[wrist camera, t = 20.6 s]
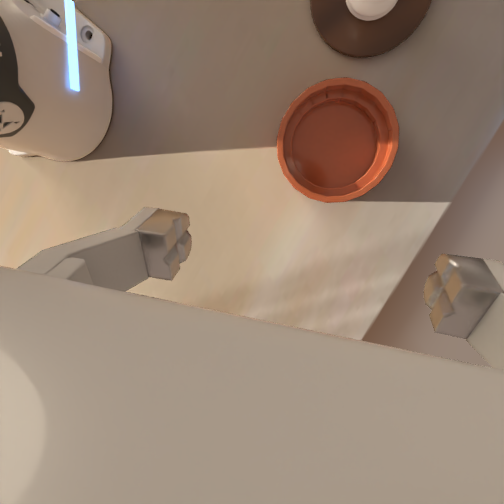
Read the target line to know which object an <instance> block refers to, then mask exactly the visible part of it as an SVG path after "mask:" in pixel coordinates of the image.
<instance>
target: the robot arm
mask: <svg viewBox="0 0 504 504" xmlns="http://www.w3.org/2000/svg"><path fill="white" fill-rule="evenodd" d="M91 34H92V38H91V39H90V36H91ZM110 58H111V41H110V38H109V37H108V36H107V35H106V34H105V33H104V32H103V31H102V30H101V29H100V28H98V27H97V26H96V25H95V24H94V23H93V22H91V21H90V20H89V19H88V18H87V17H86V16H85V15H83V14H82V13H81V12H80V11H79V10H78V9H76V8H75V7H74V2H73V1H72V0H0V148H4V149H7V150H8V151H9V152H10V153H11V154H13V155H16V156H21V157H29V156H35V155H39V156H42V157H46V158H49V159H52V160H55V161H65V162H67V161H74V160H78V159H80V158H83V157H85V156H86V155H88V154H89V153H91V152H92V151H93V150H94V149H95V148H96V147H97V146H98V145H99V144H100V142H101V141H102V139H103V138H104V136H105V134H106V132H107V129H108V127H109V124H110V120H111V115H112V90H111V84H110V78H109V64H110ZM189 226H190V221H189V216H188V215H187V214H186V213H181V212H175V211H169V210H164V209H159V208H152V207H144V208H143V209H142V210H140V211H139V212H138V213H137V214H136V215H135V216H134V217H132V218H131V219H130V220H129V221H128V222H127V223H125V224H124V225H123V226H122V227H121V228H113V229H110V230H107V231H103V232H100V233H97V234H94V235H90V236H87V237H84V238H80V239H77V240H74V241H71V242H67V243H64V244H61V245H58V246H54V247H51V248H48V249H44V250H42V251H40V252H39V253H38V254H36V255H35V256H34V257H32V258H31V259H29V260H28V261H27V262H25V263H24V264H22V265H21V266H20V267H18V268H17V269H14V268H9V267H4V266H0V504H504V264H503V263H502V262H500V261H498V260H489V259H481V258H473V257H465V256H457V255H449V254H441V255H440V256H439V257H438V259H437V261H436V263H435V267H436V269H437V271H436V272H434V273H432V274H431V275H429V276H428V278H427V281H426V283H425V286H424V292H423V293H424V300H425V304H426V305H427V306H428V307H429V308H430V309H431V310H432V311H431V313H430V314H429V316H430V319H431V322H432V325H433V328H434V331H435V332H437V333H441V334H446V335H450V336H455V337H459V338H464V339H466V341H467V342H468V343H469V344H470V345H471V346H472V347H473V348H474V349H475V350H476V351H477V353H478V354H479V355H480V356H481V357H482V358H483V359H484V360H485V361H486V362H487V363H488V364H489V365H490V366H491V367H492V368H490V367H485V366H480V365H476V364H471V363H466V362H461V361H456V360H451V359H447V358H442V357H437V356H432V355H428V354H422V353H418V352H413V351H408V350H404V349H399V348H393V347H389V346H384V345H379V344H375V343H370V342H365V341H360V340H355V339H351V338H346V337H341V336H336V335H331V334H326V333H322V332H317V331H312V330H307V329H302V328H298V327H293V326H288V325H283V324H278V323H274V322H269V321H264V320H259V319H254V318H250V317H245V316H240V315H235V314H230V313H225V312H221V311H216V310H211V309H206V308H201V307H197V306H192V305H187V304H182V303H177V302H173V301H168V300H163V299H158V298H153V297H149V296H144V295H139V294H134V293H129V292H125V291H127V290H129V289H130V288H132V287H134V286H136V285H137V284H139V283H141V282H142V281H144V280H146V279H148V277H153V278H159V279H165V280H171V281H172V280H173V278H174V277H175V275H176V274H177V272H178V271H179V269H180V263H182V262H184V261H186V259H187V258H188V256H189V253H190V250H191V244H192V240H191V235H190V234H189V232H188V231H187V228H188V227H189Z"/></svg>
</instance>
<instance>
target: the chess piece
mask: <svg viewBox="0 0 504 504" xmlns="http://www.w3.org/2000/svg"><path fill="white" fill-rule="evenodd" d="M397 1H398V0H346V4H347V7H348V9H349V11H350V12H351V13H352V14H353V15H354V16H355V17H357V18H358V19H361V20H365V21H372V20H376V19H379V18H381V17H383V16H384V15H386V14H387V13H388V12H389V11H390V10H391V9H392V8H393V7H394V6H395V4H396V3H397Z"/></svg>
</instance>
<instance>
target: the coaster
mask: <svg viewBox="0 0 504 504" xmlns="http://www.w3.org/2000/svg"><path fill="white" fill-rule="evenodd" d="M431 1H432V0H398V1H397V3H396V4H395V6H394V7H393V8H392V9H391V10H390V11H389V12H388V13H387V14H386V15H384V16H383V17H381V18H379V19H376V20H372V21H365V20H361V19H358V18H357V17H355V16H354V15H353V14H352V13H351V12H350V11H349V9H348V7H347V4H346V0H311V12H312V17H313V20H314V24H315V26H316V28H317V31H318V32H319V34H320V35H321V37H322V38H323V40H324V41H325V42H326V43H327V44H328V45H329V46H330V47H332V48H333V49H335V50H336V51H338V52H340V53H342V54H344V55H348V56H352V57H371V56H376V55H379V54H383V53H385V52H387V51H389V50H391V49H393V48H395V47H396V46H398V45H399V44H401V43H402V42H403V41H404V40H406V39H407V38H408V37H409V36H410V35H411V34H412V33H413V31H414V30H415V29H416V28H417V27H418V25H419V24H420V22H421V21H422V19H423V18H424V16H425V14H426V12H427V10H428V8H429V6H430V3H431Z"/></svg>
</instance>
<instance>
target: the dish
mask: <svg viewBox="0 0 504 504" xmlns="http://www.w3.org/2000/svg"><path fill="white" fill-rule="evenodd" d="M398 142H399V125H398V122H397V118H396V115H395V111H394V109H393V107H392V106H391V104H390V103H389V101H388V100H387V99H386V97H385V96H384V95H383V93H382V92H381V91H379V90H377V89H376V88H374V87H373V86H371V85H370V84H368V83H367V82H365V81H360V80H356V79H351V78H347V77H346V78H345V77H344V78H336V79H328V80H324V81H322V82H320V83H318V84H316V85H313V86H311V87H309V88H308V89H306V90H305V91H304V92H303V93H302V94H301V95H300V96H298V97H297V98H296V99H295V100H294V101H293V103H291V105H290V107H289V108H288V110H287V112H286V113H285V115H284V117H283V118H282V120H281V124H280V128H279V132H278V136H277V156H278V160H279V163H280V166H281V168H282V171H283V174H284V175H285V177H286V178H287V179H288V181H289V182H290V183H291V184H292V186H293V187H294V188H295V189H296V190H298V191H299V192H301V193H302V194H304V195H305V196H307V197H308V198H311V199H315V200H318V201H322V202H327V203H331V202H346V201H349V200H351V199H354V198H357V197H360V196H362V195H364V194H365V193H367V192H368V191H369V190H371V189H372V188H373V187H375V186H376V185H378V184H379V183H380V181H381V180H382V179H383V177H384V176H385V175H386V173H387V172H388V171H389V169H390V168H391V166H392V164H393V161H394V158H395V155H396V153H397V150H398Z"/></svg>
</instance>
